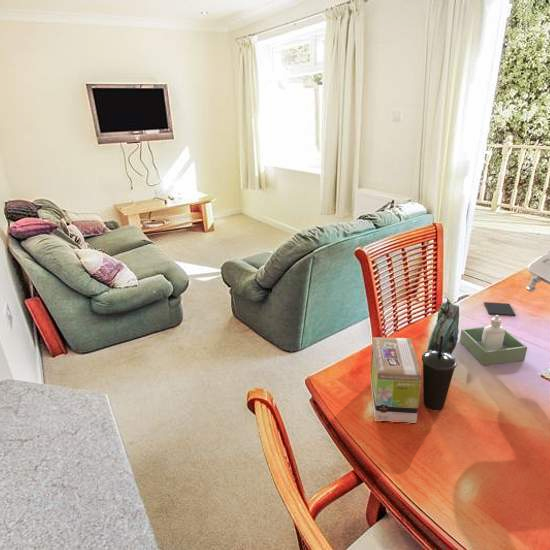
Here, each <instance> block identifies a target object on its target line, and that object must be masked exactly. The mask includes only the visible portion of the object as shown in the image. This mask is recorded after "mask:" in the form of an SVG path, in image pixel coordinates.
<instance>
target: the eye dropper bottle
mask: <svg viewBox="0 0 550 550" xmlns="http://www.w3.org/2000/svg"><path fill="white" fill-rule="evenodd" d="M501 324H502V319H501V318H500V315H494V317H492V318H491V319H490V324H489V325H486V326H487V327H485V328H484V330H483V334H482V340H480V345H481V346H482V347H483V348H484V349H485V350H486V351H492V350H499V349H503V345H504V344H503V341H504V336H505V330H506V328H504V326H502V325H501Z"/></svg>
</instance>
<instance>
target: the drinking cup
mask: <svg viewBox="0 0 550 550" xmlns="http://www.w3.org/2000/svg"><path fill="white" fill-rule="evenodd" d="M442 345H443V336H440V343H439V350H430V351H427V350H426V351H424V353H423V354H422V355H421V361H422V403H423V405H424V407H425V408H426V409H428V408H429V409H428V410H430V409H431V410H430V411H433V410H439V411H441V409H442V410H443V409H445V408H444V407H445V404H446V400H447V396H448V393H449V390H450V386H451V382H452V379H453V375H454V373H455V372H454V371H455V369H456V368H457V366H458V361H457V359H456V358H455V356H454V355H452V354H449V353H447V352H444V351H442Z"/></svg>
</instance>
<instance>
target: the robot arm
mask: <svg viewBox="0 0 550 550" xmlns="http://www.w3.org/2000/svg"><path fill="white" fill-rule="evenodd" d="M527 272H528V273H529V274H530V275H531V277H530V279H529V283H527V285H526V286H525V290H526V291H528V292H530V293H533V292H534V291H535V290H537V288H536V286H537V284H539V283H541V282H543V283H546V285H549V286H550V251H547V252H545V253H544V254H542V255H541V256H539V257H537V258H536V259H535V260H534V261H532V262H531V263H530V264H529V265H528V266H527Z"/></svg>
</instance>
